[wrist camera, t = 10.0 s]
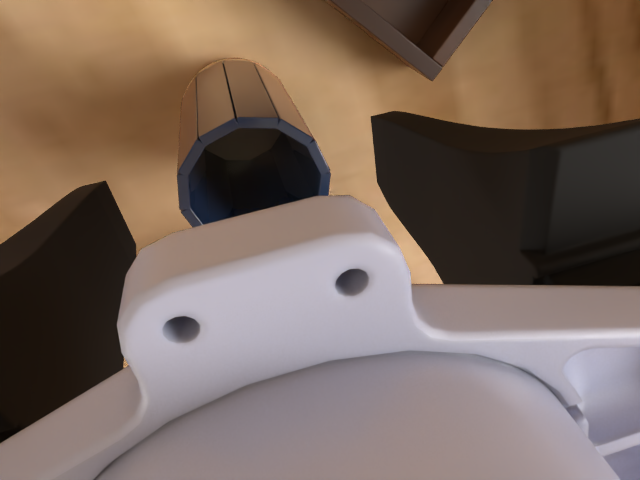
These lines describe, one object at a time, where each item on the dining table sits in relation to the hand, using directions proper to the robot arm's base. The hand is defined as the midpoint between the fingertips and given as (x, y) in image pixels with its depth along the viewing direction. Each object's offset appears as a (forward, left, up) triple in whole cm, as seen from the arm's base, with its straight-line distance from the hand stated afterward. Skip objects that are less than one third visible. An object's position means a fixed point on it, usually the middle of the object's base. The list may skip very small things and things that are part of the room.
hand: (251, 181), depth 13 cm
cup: (+1, -1, -10) cm, 10 cm away
